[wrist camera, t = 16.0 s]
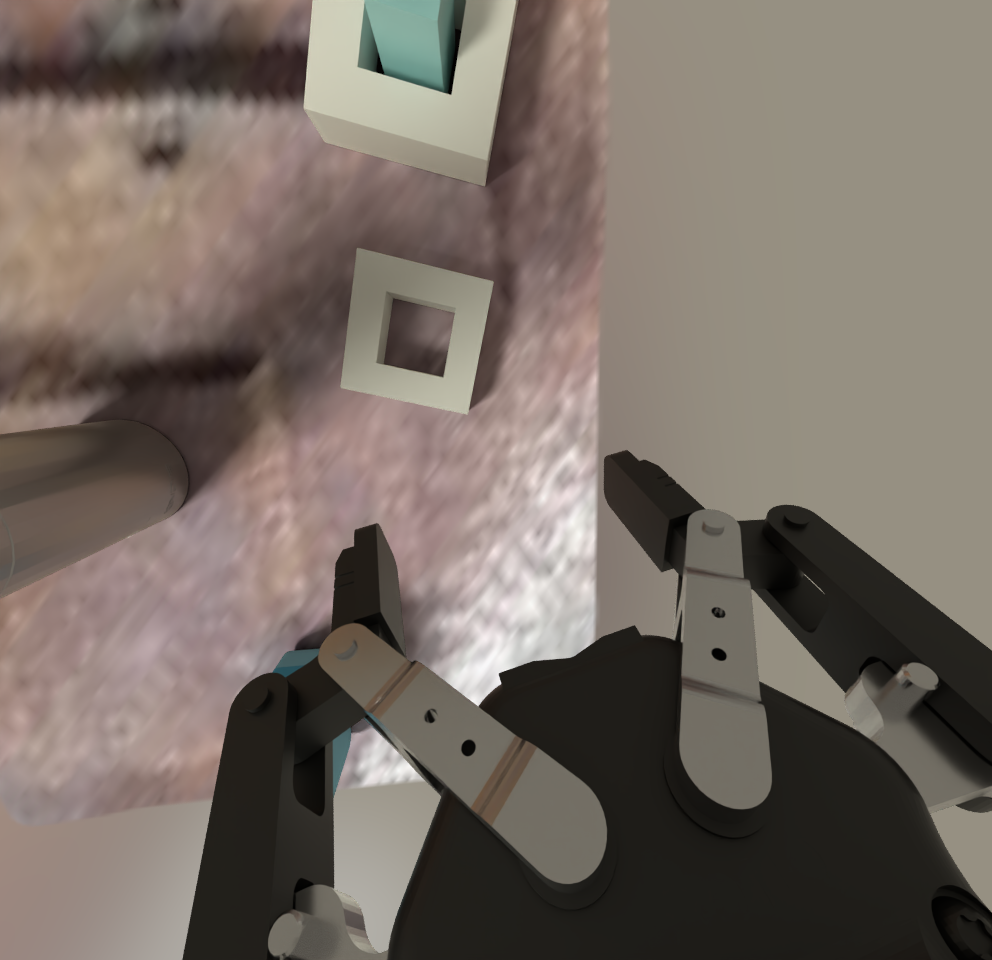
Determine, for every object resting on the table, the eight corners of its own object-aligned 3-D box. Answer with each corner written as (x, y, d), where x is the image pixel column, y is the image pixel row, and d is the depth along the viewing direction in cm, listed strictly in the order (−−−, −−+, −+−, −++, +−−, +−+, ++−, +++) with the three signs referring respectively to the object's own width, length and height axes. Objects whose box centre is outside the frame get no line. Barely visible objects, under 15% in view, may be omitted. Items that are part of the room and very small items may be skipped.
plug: (390, 95, 30) (353, -40, 20) (399, 28, 29) (364, -147, 19) (445, 111, 30) (434, -13, 20) (455, 46, 29) (449, -116, 19)
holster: (350, 386, 34) (340, 387, 32) (367, 258, 32) (357, 247, 29) (467, 411, 36) (467, 414, 33) (491, 289, 33) (493, 281, 30)
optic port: (324, 142, 30) (303, 108, 26) (344, -64, 27) (324, -137, 23) (484, 186, 31) (487, 160, 27) (519, -6, 29) (527, -65, 25)
